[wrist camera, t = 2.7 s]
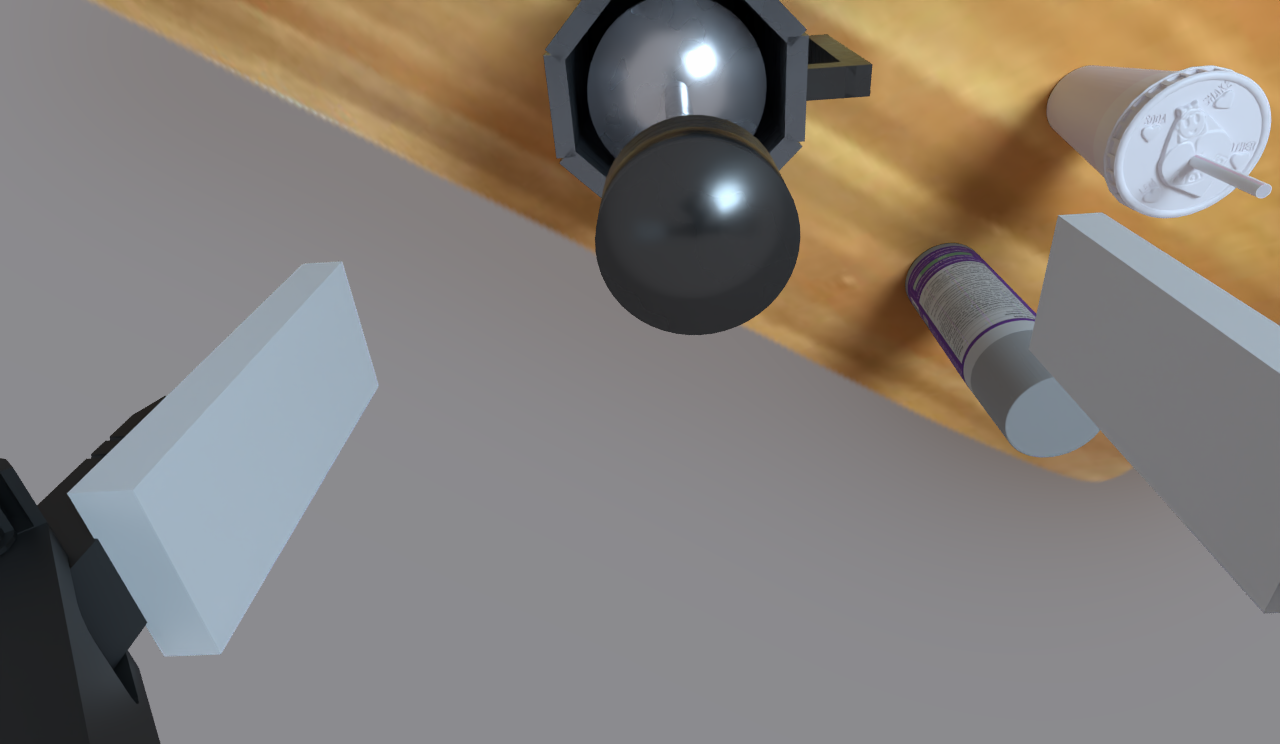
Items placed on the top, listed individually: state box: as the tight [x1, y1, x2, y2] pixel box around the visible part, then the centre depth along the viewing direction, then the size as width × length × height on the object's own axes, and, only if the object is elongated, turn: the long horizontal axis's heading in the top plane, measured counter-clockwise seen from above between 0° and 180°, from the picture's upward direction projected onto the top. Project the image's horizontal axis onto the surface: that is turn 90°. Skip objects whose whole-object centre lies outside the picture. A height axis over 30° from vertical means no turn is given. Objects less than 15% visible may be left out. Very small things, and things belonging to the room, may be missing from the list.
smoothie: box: [1047, 65, 1272, 218], centre depth 35 cm, size 6×6×14 cm
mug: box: [543, 0, 872, 198], centre depth 34 cm, size 10×13×12 cm
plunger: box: [587, 0, 800, 335], centre depth 24 cm, size 7×7×17 cm
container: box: [905, 243, 1100, 457], centre depth 40 cm, size 5×5×15 cm
